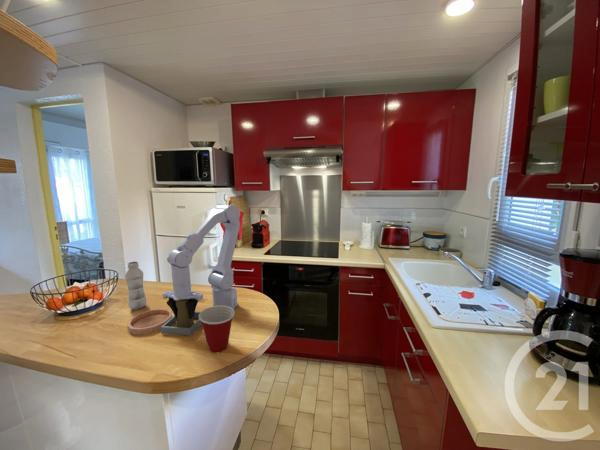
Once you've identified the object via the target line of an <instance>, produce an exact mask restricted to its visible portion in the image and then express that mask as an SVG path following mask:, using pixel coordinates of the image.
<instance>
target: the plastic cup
mask: <svg viewBox="0 0 600 450" xmlns="http://www.w3.org/2000/svg"><path fill="white" fill-rule="evenodd" d="M199 312H200V314H199V319H200V321H201V323H202V325H201V326H202V329H203V332H204V337H205V340H206V342H207V343H206V344H207V346H208V350H209V352H210V353H214V354H218V353H217V352H219V353H222V352H224V351H225V350H227V348H228V346H229V343H230V342H229V341H230V340H229V339H230V335H231V327H232V322H233V318H234V317H235V315H236V314H235V313H236V311H235V308H234V309H232V308H231V307H227V306H209V307H207V308H204V309H203V310H201V311H199ZM223 350H224V351H223ZM221 351H222V352H221Z"/></svg>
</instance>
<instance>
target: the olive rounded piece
mask: <svg viewBox="0 0 600 450" xmlns="http://www.w3.org/2000/svg"><path fill="white" fill-rule="evenodd" d="M187 301H189V299H180V300H178V301H176V307H177V308H178V311H177V322H176V327H182V328H190V327H191V326H192V325H193V324H194V323H195V321H194V318H192V319H189V314H188V309H187V306H186V304H185V303H186V302H187Z"/></svg>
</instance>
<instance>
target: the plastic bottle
mask: <svg viewBox="0 0 600 450" xmlns="http://www.w3.org/2000/svg"><path fill="white" fill-rule="evenodd" d="M127 269H128V270H127V271H126V273H125V276H124V278H125V279H124V280H125V281H126V285H127V289H128V302H127V303H128V308H129V309H130V310H133V311H134V310H136V311H137V310H140V309H143V308H144V307H146V305H147V300H148V299H147V296H146V294H145V291H144V272H143V270H142V269H141V268H140V265H139V261H131V262H128V263H127Z"/></svg>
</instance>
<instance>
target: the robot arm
mask: <svg viewBox="0 0 600 450" xmlns="http://www.w3.org/2000/svg"><path fill="white" fill-rule="evenodd" d="M240 216H241V211H240V210H239V208H238V206H236V205H234V204H219V203H218V204H216V205H215V206H214V207H213V208H212V209H211V210H210V213H209V215H208V216H207V217H206V218H205V220H204V222H202V224H201V225H200V226H199V228H198V229H197V230H196V231H195V232H191V233H189V234H187V235H186V236H185V239H184V240H183V241H182V242H181V243H180V244H179V245H177V247H176V249H173V250H171V251H170V252H169V254H168V257H167V258H166V261H167V263H168V264H169V265H170V266H171V267H170V269H171V278H172V288H173V291H164V292H163V293H162V299H164V300H166V299H168V300H166V305H167V306H168V307H169V308H170V310H171V312H172V314H173V316H174V315H175V318H177V311H178V308H177V307H176V301H178V300H180V299H189V301H187V302H186V303H185V304H186V306H187V309H188V314H189V319H192V318H193V317H194V313H195V312H196V308H197V305H198V303H199V302H201V301H202V300H203V299H204V294H203V293H201V292H196V291H193V290H192V285H191V284H192V283H191V274H190V272H191V271H190V264H191V263H192V261H193V257H194V254H196V252H197V251H199V249H200V248H201V246H202V245H203V244H204V242H205V241H204V238H205V237H206V236H207V235H208V234H209V232H211V230H212V229H214V227H215V226H216V225H217V224H223V226H224V228H225V229H224V235H223V239H222V243H221V246H220V250H219V254H218V255H219V256H218V259H217V263H216V265H214V266H213V267H212V270H211V272H210V273H209V275H208V277H207V281H208V284H209V285H211V292H212V305H213V306H227V307H231V308H232V309H234V310H235V309H236V308H237V306H238V305H239V303H238V291H237V289H236V288H234V287H232V286H233V285H234V282H235V281H234V270H233V268H232V261H233V256H234V253H235V249H236V245H237V244H236V243H237V240H238V236H239V232H240V227H241V225H240V224H241V223H240ZM193 319H194V318H193Z"/></svg>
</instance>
